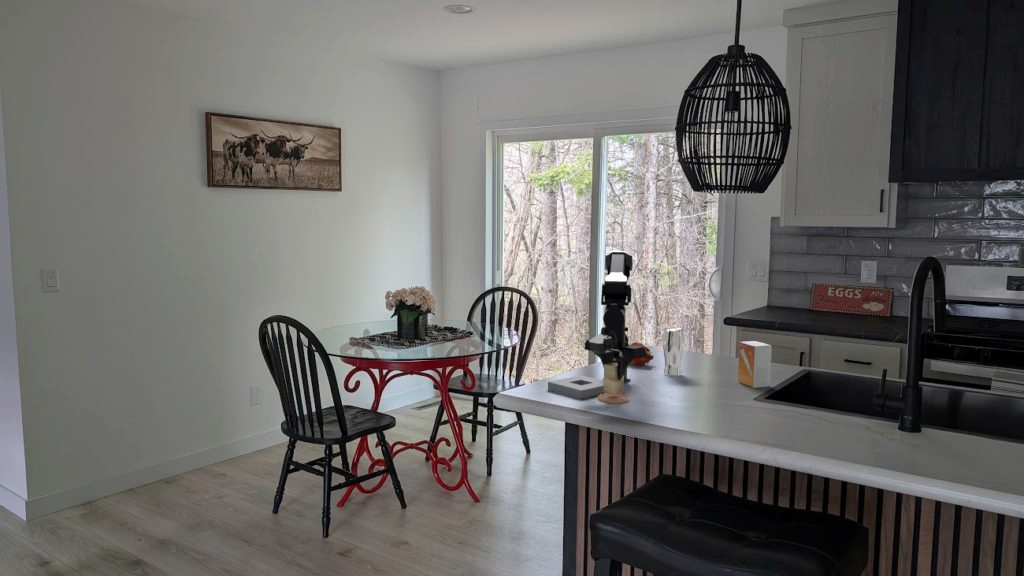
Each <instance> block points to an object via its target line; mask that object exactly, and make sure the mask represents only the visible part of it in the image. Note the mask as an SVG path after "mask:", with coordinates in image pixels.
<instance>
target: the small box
mask: <svg viewBox="0 0 1024 576" xmlns="http://www.w3.org/2000/svg"><path fill="white" fill-rule="evenodd" d="M772 351H773V350H772V345H771V344H767V343H765V342H761V341H756V340H751V341H747V340H746V341H739V349H738V353H739V354H738V373H737V374H738V375H737V381H738V383H740V384H743V385H746V386H748V387H750V388H753V389H756V388H768V387H770V386H771V379H772V378H771V374H772V373H771V372H772Z"/></svg>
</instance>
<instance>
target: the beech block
mask: <svg viewBox="0 0 1024 576" xmlns="http://www.w3.org/2000/svg"><path fill="white" fill-rule="evenodd" d="M603 378H604V380H603V381H604V392H606V394H607V393H610V394H613V395H615V394H623V393H624V389H625V387H624V386H625V385H624V383H625V382H624V375H623V377H622V379H621V380H618V368H617V363H608V364H604V367H603Z"/></svg>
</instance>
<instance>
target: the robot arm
mask: <svg viewBox="0 0 1024 576" xmlns="http://www.w3.org/2000/svg"><path fill="white" fill-rule="evenodd" d="M627 252H628V251H625V250H611V251H609V254H607V255H604V256H605V259H604V260H605V262H604V269H605V271H607V273H606V274H607V275H606V276H605V277H604V283H601V299H600V306H605V307H604V314H603V316H602V320H603V324H604V326H602V327H601V329H600V334H597V335H595V336H594V337H593V338H590V339H586V341H585V342H584V350H585V351H589V352H592V353H593V354H594V355H595V356H597V357H598V358H599V359H600V362H601V364H602V367H603V368H604V364H608V363H617V368H618V380H621V379H622V377H623V375H624V383H627V382H631V380H632V379H630V378H628V367H629V365H630V364H633V363H632V362H633V359H637V358H642V357H646V349H645V348H644V347H642V346H636V345H633V346H631V344H632V343H629V337H628V335H627V333H626V332H628V331H629V327H627V326H626V306H627V307H628V306H629V305H630V303H632V287H631V284H630V283H628V280H629V278H630V277H631V271H633V264H634V263H633V261H634V260H633V256H632V255H631V254H628V253H627ZM602 380H603V381H604V377H603V378H602Z"/></svg>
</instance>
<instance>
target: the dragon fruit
mask: <svg viewBox="0 0 1024 576" xmlns="http://www.w3.org/2000/svg"><path fill="white" fill-rule="evenodd" d="M630 344H631V346H633V345H636V346H642V347H644V348H645V349H646V357H642V358H637V359H633V362H632V363H631V364H633V363H634V364H633V365H635V366H637V367H644V365H646V364H649V363H651V361H652V360H653V359H654V355H653V353H652V352H651V349H649V348H648V347H647V346H645V345H644V344H643V343H641V342H637V341H634V342H632V343H630Z"/></svg>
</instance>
